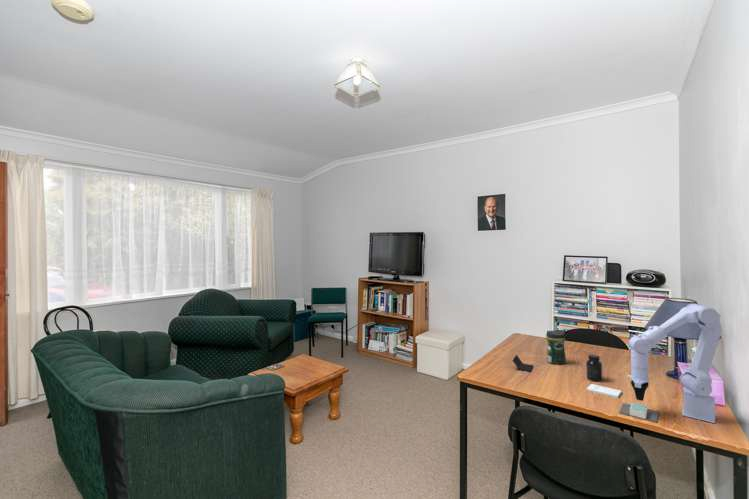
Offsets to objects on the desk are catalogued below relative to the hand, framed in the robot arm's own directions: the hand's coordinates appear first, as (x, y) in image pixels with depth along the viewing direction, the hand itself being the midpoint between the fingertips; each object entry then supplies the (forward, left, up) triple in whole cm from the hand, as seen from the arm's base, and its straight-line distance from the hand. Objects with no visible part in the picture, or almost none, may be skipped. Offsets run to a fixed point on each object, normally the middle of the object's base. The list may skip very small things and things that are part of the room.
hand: (639, 399), depth 145 cm
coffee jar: (+43, -42, -5) cm, 60 cm away
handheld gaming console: (+54, -21, -5) cm, 59 cm away
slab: (0, +1, -3) cm, 3 cm away
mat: (0, +2, -5) cm, 5 cm away
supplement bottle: (+21, -27, -5) cm, 35 cm away
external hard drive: (+15, -13, -5) cm, 20 cm away
